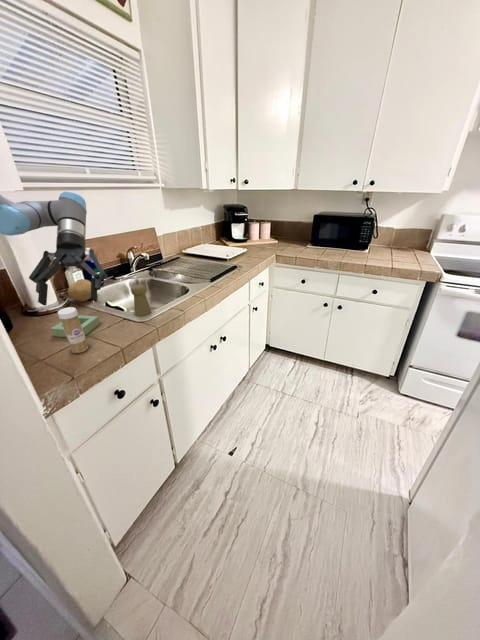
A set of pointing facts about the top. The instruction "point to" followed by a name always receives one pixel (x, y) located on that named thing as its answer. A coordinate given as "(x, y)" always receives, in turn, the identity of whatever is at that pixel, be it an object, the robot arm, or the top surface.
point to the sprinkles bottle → (73, 329)
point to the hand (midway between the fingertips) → (68, 301)
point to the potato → (80, 290)
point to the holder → (86, 323)
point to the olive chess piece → (140, 300)
